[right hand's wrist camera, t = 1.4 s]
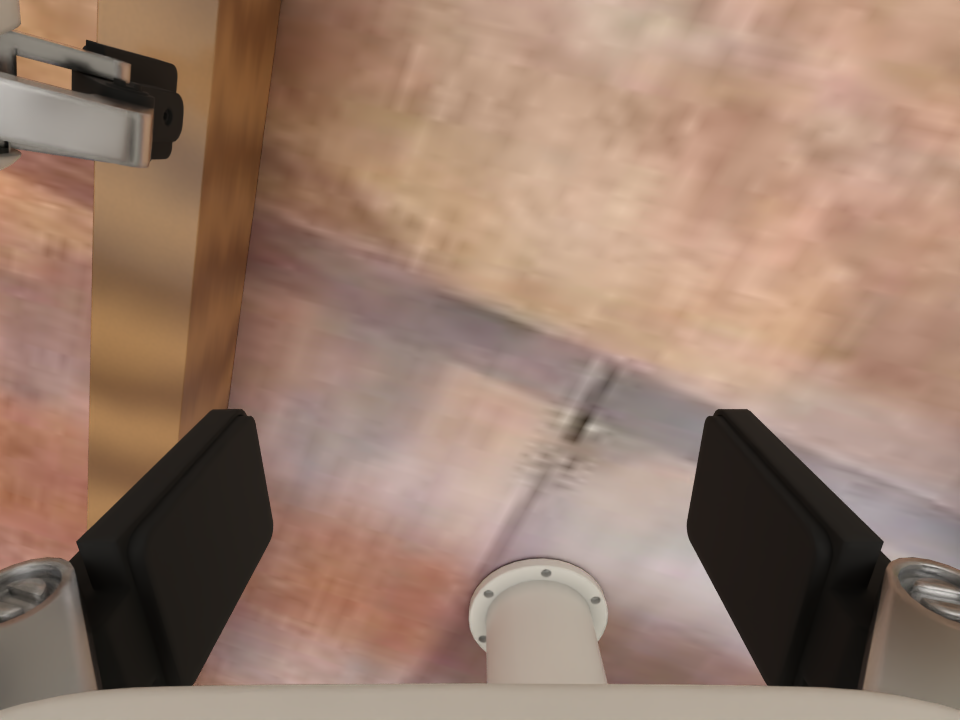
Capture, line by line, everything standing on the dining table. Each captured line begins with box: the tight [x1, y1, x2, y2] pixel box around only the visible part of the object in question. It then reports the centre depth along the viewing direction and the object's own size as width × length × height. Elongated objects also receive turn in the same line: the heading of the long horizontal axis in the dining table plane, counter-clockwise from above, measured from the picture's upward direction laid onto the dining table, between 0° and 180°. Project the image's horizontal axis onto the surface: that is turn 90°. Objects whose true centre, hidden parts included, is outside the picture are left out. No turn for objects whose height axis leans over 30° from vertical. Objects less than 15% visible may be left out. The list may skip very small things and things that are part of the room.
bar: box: [87, 0, 281, 531], centre depth 38 cm, size 61×5×8 cm, turn 163°
